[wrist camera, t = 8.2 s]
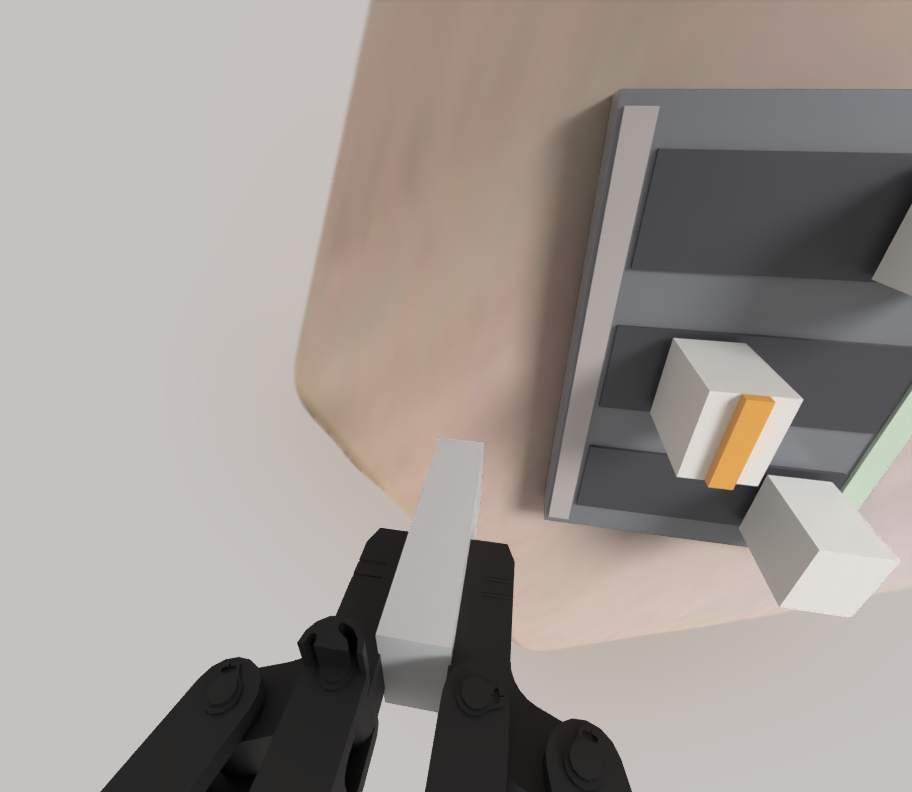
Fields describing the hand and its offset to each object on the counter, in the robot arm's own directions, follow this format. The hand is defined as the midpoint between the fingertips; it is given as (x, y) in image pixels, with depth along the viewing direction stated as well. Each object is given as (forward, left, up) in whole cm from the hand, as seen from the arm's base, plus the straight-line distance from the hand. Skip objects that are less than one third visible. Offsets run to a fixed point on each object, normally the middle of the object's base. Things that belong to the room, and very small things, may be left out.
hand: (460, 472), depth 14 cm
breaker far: (+7, +16, -8) cm, 19 cm away
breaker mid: (0, +10, -8) cm, 13 cm away
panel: (0, +12, -11) cm, 16 cm away
